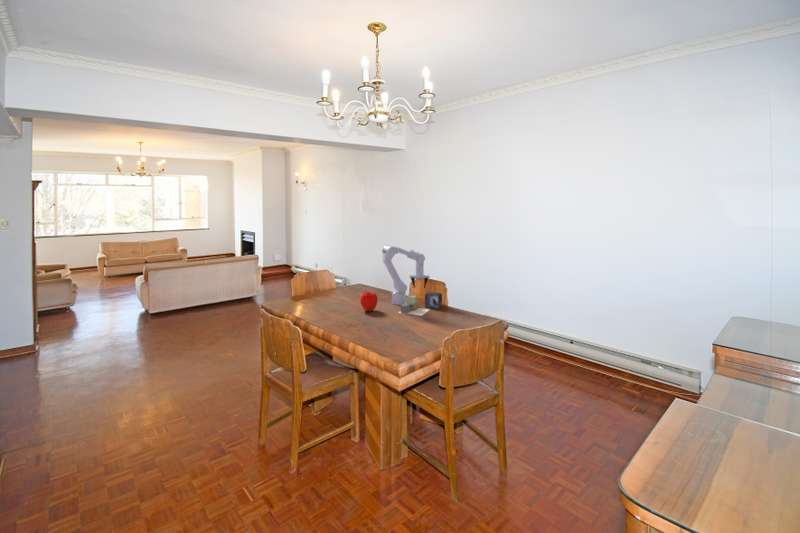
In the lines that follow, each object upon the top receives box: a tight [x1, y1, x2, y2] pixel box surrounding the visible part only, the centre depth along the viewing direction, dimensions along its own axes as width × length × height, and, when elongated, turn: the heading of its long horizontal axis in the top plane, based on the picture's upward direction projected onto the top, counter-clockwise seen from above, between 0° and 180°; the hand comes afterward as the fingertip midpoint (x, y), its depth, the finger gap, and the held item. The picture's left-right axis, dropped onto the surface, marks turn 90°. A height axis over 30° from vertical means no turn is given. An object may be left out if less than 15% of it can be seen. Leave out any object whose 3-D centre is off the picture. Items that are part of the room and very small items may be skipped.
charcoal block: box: [400, 304, 410, 314], centre depth 266 cm, size 5×5×5 cm
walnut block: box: [406, 302, 419, 311], centre depth 273 cm, size 7×7×4 cm
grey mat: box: [398, 307, 431, 317], centre depth 269 cm, size 17×16×1 cm
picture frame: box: [424, 291, 443, 310], centre depth 278 cm, size 11×6×10 cm, turn 62°
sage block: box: [406, 295, 417, 305], centre depth 273 cm, size 5×5×5 cm
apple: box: [359, 291, 379, 312], centre depth 269 cm, size 12×12×13 cm
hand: (419, 287), depth 294 cm, fingers open, 7 cm apart
